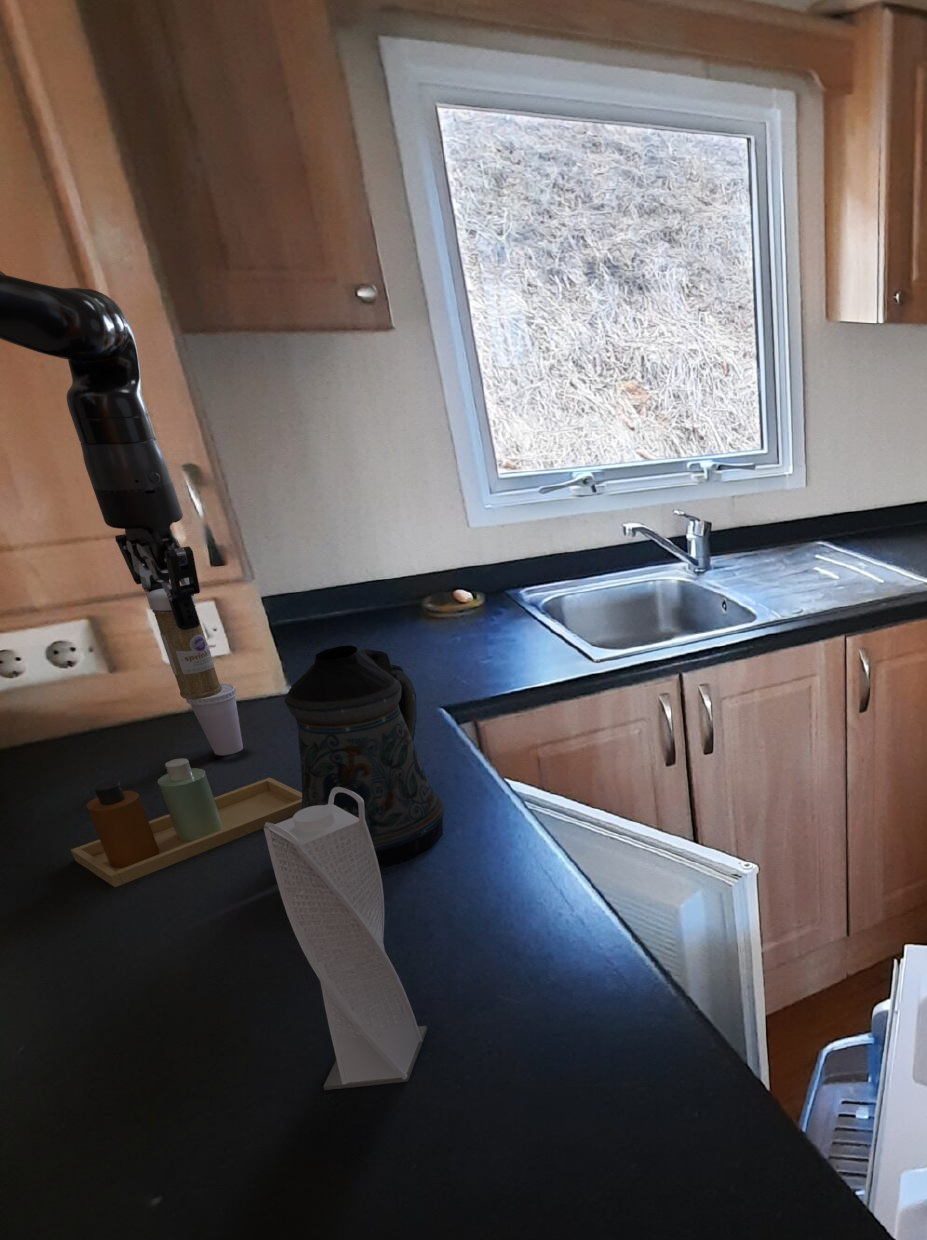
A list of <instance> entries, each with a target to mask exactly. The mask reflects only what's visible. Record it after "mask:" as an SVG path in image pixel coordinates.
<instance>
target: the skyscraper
mask: <svg viewBox="0 0 927 1240" xmlns="http://www.w3.org/2000/svg"><path fill="white" fill-rule="evenodd" d="M338 792H342V793H346V794H348V795H350V796H352V797H353V798H354V799H355V800H356V801H357V802H358V809H359V818H357V817H356V816H354V815H352V814H350V813H348V812H346V811H345V810H343V809H341V808H339V807H337V806H335V805H334V804H333V803H334V796H335V794H336V793H338ZM263 832H264V836H265V840H266V844H267V848H268V853H269V856H270V861H271V865H272V869H273V872H274V876H275V879H276V883H277V887H278V890H279V894H280V898H281V900H282V904H283V906H284V909H285V912H286V915H287V918H288V920H289V923H290V925H291V928H292V931H293V933H294V935H295V938H296V940H297V942H298V945H299V946H300V948H301V950H302V952H303V954H304V956H305V958H306V959H307V962H308V964H309V965H310V967H311V969H312V970H313V972H314V973H315V975H316V977H317V978H318V980H319V982H320V988H321V993H322V999H323V1005H324V1010H325V1014H326V1019H327V1024H328V1028H329V1035H330V1037H331V1041H332V1046H333V1051H334V1054H335V1061H334V1063H333V1065H332V1067H331V1069H330V1072H329V1073H328V1076H327V1078H326V1080H325V1082H324V1084H323V1090H324V1091H331V1090H339V1089H349V1088H360V1087H368V1086H369V1087H370V1086H378V1085H388V1084H396V1083H397V1084H399V1083H407V1082H409V1080H410V1078H411V1075H412V1072H413V1069H414V1067H415V1064H416V1061H417V1058H418V1056H419V1053H420V1050H421V1049H422V1045H423V1042H424V1040H425V1037H426V1034H427V1031H428V1026H427V1025H418V1023H417V1020H416V1017H415V1014H414V1012H413V1008H412V1006H411V1003H410V1001H409V999H408V995H407V993H406V990H405V988H404V986H403V984H402V981H401V979H400V977H399V975H398V973H397V971H396V968H395V967H394V965H393V963H392V962H391V960H390V958H389V956H388V954H387V952H386V949H385V945H384V936H385V935H384V934H385V896H384V888H383V880H382V875H381V874H382V873H381V870H380V869H381V868H380V869H379V865H378V861H377V856H376V853H375V850H374V846H373V843H372V839H371V836H370V833H369V830H368V827H367V824H366V821H365V812H364V800H363V799H362V798H361V797H360V796H359V795H358V794H356V793H355V792H353V791H350V790H348V789H345V788H342V787H335V788H333V789H332V790H331V793H330V796H329V800H328V804H327V805H318V806H311V807H307V808H304V809H302V810H300V811H298V812H297V813H295V814H294V816H292V817H290V818H287V819H285V820H282V821H280V822H277V823H275V824H272V823H269V822H266V823H265V825H264V828H263Z"/></svg>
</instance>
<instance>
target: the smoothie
mask: <svg viewBox="0 0 927 1240" xmlns="http://www.w3.org/2000/svg"><path fill="white" fill-rule="evenodd" d="M220 685H221V686H222V690H221V692H220V693H218V694H216V695H213V696H210V697H207V698H201V699H185V702H186V703H187V704H188V705H190V707H191V709H192V711H193V713H194V715H195V717H196V719H197V721H198V723H199V725H200V727H201V729H202V731H203V733H204V735H205V737H206V739H207V741H208V743H209V745H210V747H211V749H212V751H213V753H214V754H215V755H217V756H228V755H229V756H230V755H233V754H236V753H239V752H241V751H243V749H244V746H243V744H244V743H243V739H242V731H241V726H240V725H241V724H240V718H239V713H238V704H237V699H236V696H237V694H238V691H237V690H236V687H235V685H233V684H231V683H220Z"/></svg>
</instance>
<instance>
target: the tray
mask: <svg viewBox="0 0 927 1240" xmlns="http://www.w3.org/2000/svg"><path fill="white" fill-rule="evenodd" d="M214 799H215V802H216V805H217V808H218V811H219V814H220V817H221V820H222V823H223V826H224V828H223V830H220V831H218V832H215V833H213V834H210V835H207V836H205V837H202V838H200V839H197V840H195V841H192V842H184V841H180V840H179V839H178V838H177V835H176V832H175V829H174V827H173V824H172V821H171V818H170V816H169V813H168V814H165V815H162V816H159V817H157V818H154V819H152V820H148V822H149V824H150V827H151V830H152V832H153V835H154V838H155V840H156V843H157V846H158V848H159V854H158V855H156V856H153V857H151V858H148V859H146V860H143V861H141V862H138V863H135V864H133V865H130V866H128V867H125V868H115V867H112V866H111V865H110V863H109V861H108V858H107V856H106V853H105V851H104V849H103V846H102V844H101V841H100V839H96V840H93V841H91V842H88V843H86V844H83V845H80V846H77V847H75V848H71V849H70V852H71V853H72V856H73V859H74V861H75V862H77V863H78V864H79V865H81V866H83V867H84V868H86V869H87V870H88V871H90V872H92V873H93V874H94V875H96V876H97V877H99V878H100V879H102V880H103V881H105V882H106V883H108V884H109V885H111V886H112V887H113V888H117V887H120V886H122V885H125V884H127V883H130V882H132V881H135V880H138V879H140V878H142V877H144V876H148V875H150V874H152V873H154V872H158V871H160V870H162V869H165V868H168V867H169V866H172V865H175V864H177V863H180V862H182V861H185V860H188V859H189V858H193V857H195V856H197V855H200V854H202V853H204V852H208V851H209V850H212V849H215V848H217V847H220V846H222V845H224V844H227V843H230V842H233V841H234V840H238V839H240V838H242V837H245V836H247V835H249V834H252V833H255V832H257V831H260V830H262V829H264V825H265V823H266V822H269V823H272V824H277V823H280V822H282V821H285V820H288V819H290V818H293V816H294V814H295V813H297V812H298V811H300V810H301V809H302V791H299V790H297V789H295V788H293V787H291V786H288V785H287V784H284V783H282V782H280V781H278V780H276V779H274V778H272V777H267V778H264V779H261V780H258V781H256V782H254V783H251V784H248V785H245V786H242V787H239V788H237V789H234V790H231V791H229V792H226V793H224V794H221V795H218V796H214Z"/></svg>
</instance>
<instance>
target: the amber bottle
mask: <svg viewBox="0 0 927 1240" xmlns="http://www.w3.org/2000/svg"><path fill="white" fill-rule="evenodd" d="M93 790H94V791H95V794H96V796H97V797H94V798H93V799H91V800H90V801H89V802H88V803H87V804H86V809H87V812H88V814H89V816H90V819H91V822H92V824H93V826H94V829H95V831H96V834H97V836H98V838H99V839H100V841H101V844H102V846H103V849H104V851H105V853H106V856H107V858H108V861H109V863H110V865H111V866H112V867H115V868H125V867H128V866H130V865H133V864H135V863H138V862H141V861H143V860H146V859H148V858H151V857H153V856H156V855H158V854H159V848H158V846H157V843H156V840H155V838H154V835H153V832H152V830H151V827H150V824H149V819H148V816H147V814H146V811H145V808H144V805H143V803H142V801H141V797H140V795H139V793H138V792H136V791H133V790H123V788H122V786H121V783H120V781H118V780H110V781H103V782H101V783H99V784H97V785H95V787H94V789H93ZM99 839H98V840H99Z"/></svg>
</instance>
